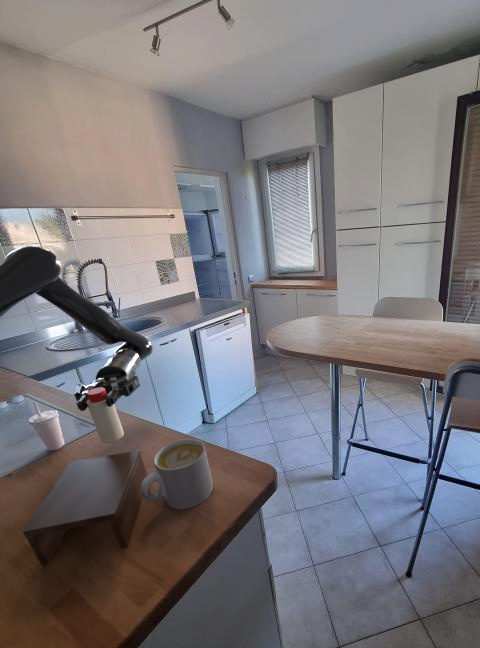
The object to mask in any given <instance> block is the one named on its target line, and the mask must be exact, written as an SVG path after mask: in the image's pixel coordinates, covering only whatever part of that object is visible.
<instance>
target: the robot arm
mask: <svg viewBox="0 0 480 648" xmlns="http://www.w3.org/2000/svg"><path fill="white" fill-rule="evenodd" d="M61 266H62V265H61V262H60V260H59V258H58V257H57V255H56V254H55V253H54V252H52V251H51V250H49V249H47V248H44V247H41V246H36V245H26V246H21V247H19V248H16V249H14V250H12V251H11V252H9V253H8V254H6V257H5V258H4V262H3V263H1V264H0V319H1V318H2V317H3V316H5V314H7V313H8V312H9V311H10V310H11V309H13V307H15V306H17V305H18V304H19V303H20V302H21V303H22V301H24V300H25V299H27V298H29V297H30V296H31V297H32V295H35V294H36V295H37V296H39V297H40V298H43V299H44V300H45V301H47V302H49V303H50V304H52V305H54V306H55V307H56V308H58V309H59V310H61V311H62V312H63V313H65V314H66V315H67V316H68V317H70V318H71V319H73V321H75V322H76V323H77V324H79V325H80V326H82V328H84V330H86V331H87V332H89V333H90V334H92V336H94V337H96V338H97V340H99V341H101V343H103V344H105V345H107V346H111V345H115V344H117V343H122V344H121V345H119V346H118V347H117V348H115V350H114V351H113V354H112V356H111V357H110V358H109V359H108V360H107V361H106V362H105V363H104V364H103V365H102V366H101V367H100V368H99V370H98V371H97V372H96V375H95V380H92V381H91V382H90V383H89V384H88V385H84V384H83V383H78V384H76V386H75V389H74V392H73V395H74V398H75V401H76V407H77V409H78V410H79V411H80V412H83V411H86V410H87V409H88V405H87V401H88V400H89V397H88V394H87V392H88V391H90V390H92V389H94V388H99V387H103V388H105V390H106V393H107V394H108V395H107V397H106V398H105V400H106V403H107V406H108V407H111V406H113V404H114V405H115V404H116V403H117V402H118V400H119V399H122V397H123V396H124V397H126V398H128V397H130V396H131V395H132V394H133V393H134V392H135V391H136V390H137V389H138V388H140V387H141V383H140V379H139V376H138V375H136V374H137V371H138V369H140V367H141V362H142V361H144V360H145V359H146V358H148V357H150V356H151V355H152V354H153V352H154V347H153V344H152V342H151V341H150V340H149V339H148V338H147V337H146V336H144V335H142V334H141V333H138V332H136V331H134V330H132V329H130V328H129V327H126V326H124V325H123V324H121V323H120V322H119V321H118V320H117V319H115V317H113V316H112V315H111V314H110V313H109V312H107V311H106V309H105V310H104V309H103V308H102V307H101V306H99V305H98V304H96V303H95V302H94V301H91V300H90V299H88V298H86V297H85V296H84V295H82V294H80V293H79V292H77V291H76V290H75V289H74V288H72V287H71V286H70V285H68V284H67V283H66V282H65V281H64V280H63V279H62V278H61V277H60V275H61V271H62V270H61V269H62V268H61Z"/></svg>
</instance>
